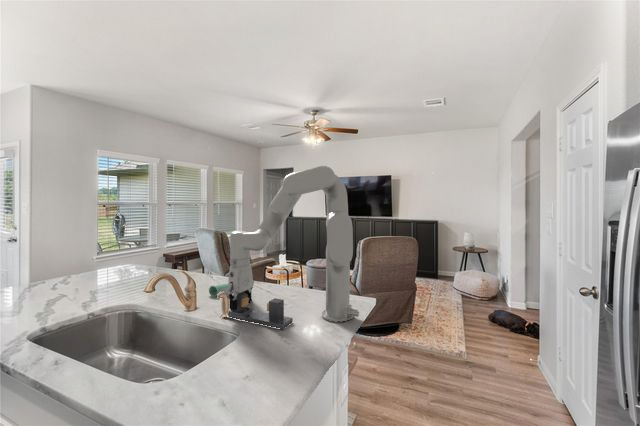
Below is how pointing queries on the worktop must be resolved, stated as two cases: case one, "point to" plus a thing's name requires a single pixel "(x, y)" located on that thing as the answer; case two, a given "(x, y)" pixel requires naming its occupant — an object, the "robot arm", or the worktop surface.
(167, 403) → the worktop surface
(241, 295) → the dark grey block
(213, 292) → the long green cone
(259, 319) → the rail
